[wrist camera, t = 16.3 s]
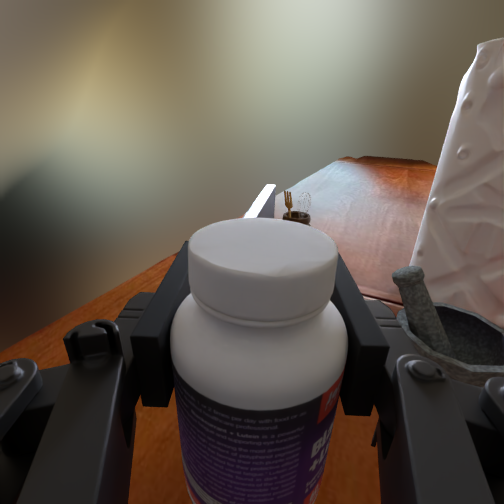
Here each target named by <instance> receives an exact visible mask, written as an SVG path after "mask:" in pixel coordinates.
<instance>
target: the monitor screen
mask: <svg viewBox="0 0 504 504" xmlns="http://www.w3.org/2000/svg"><path fill="white" fill-rule="evenodd" d="M275 190H276V185H268V184H267V185H266V186H265V188H264V189H263V191H262V192H261V193H260V195H259V196H258V197H257V199H256V200H255V201H254V203H253V204H252V206H251V207H250V208H249V210H248V211H247V212H246V214H245V215H244V217H243V218H273V219H274V207H275Z"/></svg>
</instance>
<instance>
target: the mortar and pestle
mask: <svg viewBox="0 0 504 504" xmlns="http://www.w3.org/2000/svg"><path fill="white" fill-rule="evenodd" d="M424 277H425V274H424V272H423V270H422V268H421V267H419V266H408V267H403V268H401V269H398V270H396V271H395V272H394V273H393V274H392V278H393V282H394V283H395V284H396V285H397V286H398V287H399V291H400V294H401V298H402V302H403V305H404V308H403V309H402V310H400V311H398V314H397V320H398V321H399V323H400V324H401V326H402V328H403V329H404V330H405V332H406V333H407V335H408V336H409V338H410V339H411V341H412V343H413V344H414V346H415V347H416V349H417V350H418V352H419V353H420V355H421V356H423V357H426V358H429V359H430V360H432V361H434V362H436V363H437V364H439V365H440V366H441V367H442V368H443V369H444V370H445V371H446V372H447V374H448V376H449V377H450V378H451V379H454V380H457V381H460V382H464V383H467V384H471V385H474V386H478V387H482V388H483V387H484V385H485V383H486V381H487V380H489V379H490V378H491V377H504V329H502V328H500V327H499V326H497V325H496V324H494V323H492V322H491V321H489V320H487V319H486V318H484V317H483V316H481V315H479V314H478V313H475V312H472V311H468V310H465V309H462V308H459V307H456V306H452V305H449V304H446V303H441V302H432V300H431V297H430V295H429V293H428V290H427V288H426V285H425V283H424V281H423V280H424Z"/></svg>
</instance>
